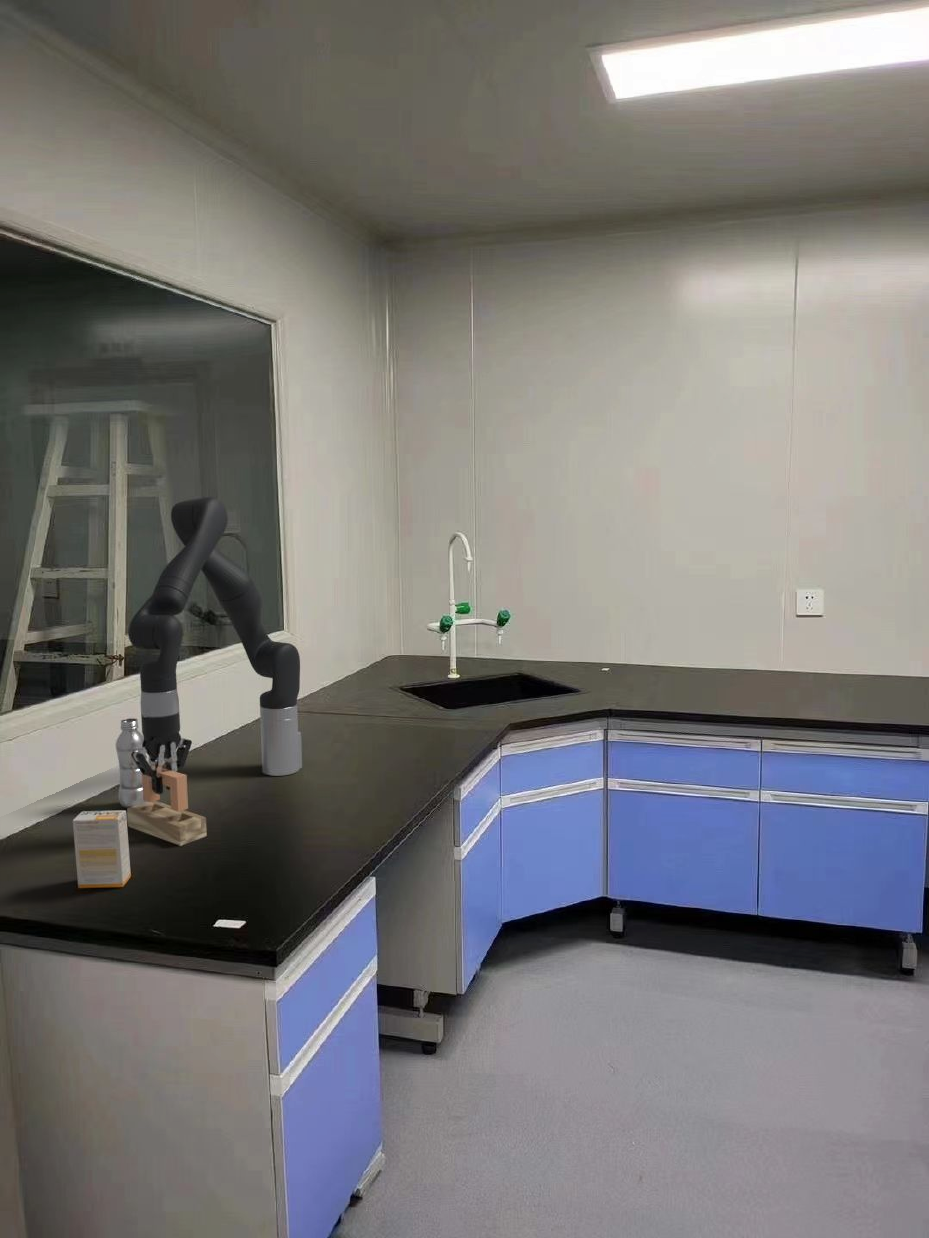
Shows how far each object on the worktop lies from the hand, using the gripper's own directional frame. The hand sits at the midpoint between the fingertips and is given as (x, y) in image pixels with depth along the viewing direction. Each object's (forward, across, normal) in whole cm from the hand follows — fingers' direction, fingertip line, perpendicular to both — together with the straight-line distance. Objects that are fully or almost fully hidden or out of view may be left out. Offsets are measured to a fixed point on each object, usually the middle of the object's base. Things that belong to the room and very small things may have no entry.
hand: (164, 790), depth 188 cm
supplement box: (+9, +22, +12) cm, 27 cm away
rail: (+9, 0, 0) cm, 9 cm away
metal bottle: (+9, -5, -19) cm, 22 cm away
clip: (+3, 0, 0) cm, 3 cm away
